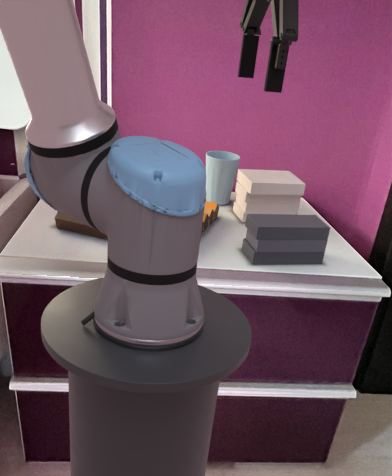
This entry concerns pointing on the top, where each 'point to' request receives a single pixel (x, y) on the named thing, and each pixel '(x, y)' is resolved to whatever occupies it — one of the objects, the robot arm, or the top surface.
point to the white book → (270, 182)
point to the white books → (263, 203)
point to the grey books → (285, 239)
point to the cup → (220, 175)
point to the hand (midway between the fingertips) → (258, 84)
